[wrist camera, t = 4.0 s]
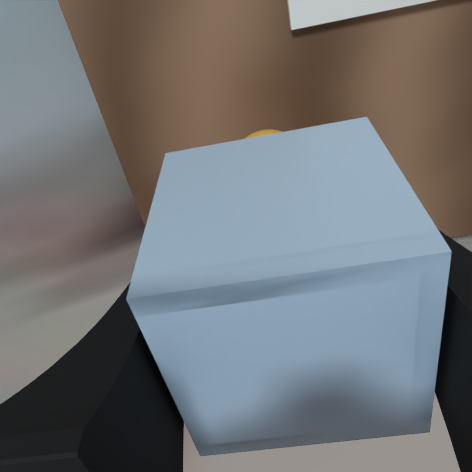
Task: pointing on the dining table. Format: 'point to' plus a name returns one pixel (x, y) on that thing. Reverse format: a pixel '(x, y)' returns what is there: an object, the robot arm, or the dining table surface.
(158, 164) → the board
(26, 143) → the dining table surface
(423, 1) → the pad
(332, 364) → the light blue cube
